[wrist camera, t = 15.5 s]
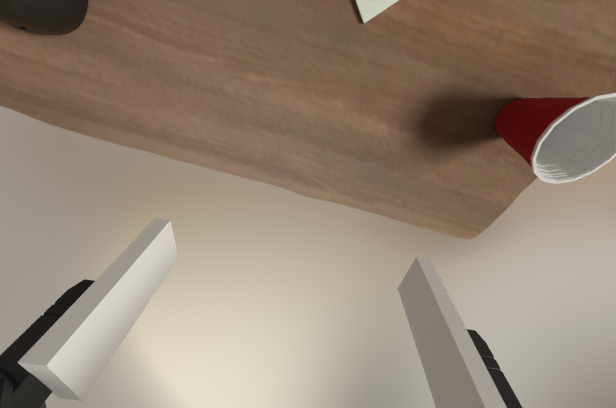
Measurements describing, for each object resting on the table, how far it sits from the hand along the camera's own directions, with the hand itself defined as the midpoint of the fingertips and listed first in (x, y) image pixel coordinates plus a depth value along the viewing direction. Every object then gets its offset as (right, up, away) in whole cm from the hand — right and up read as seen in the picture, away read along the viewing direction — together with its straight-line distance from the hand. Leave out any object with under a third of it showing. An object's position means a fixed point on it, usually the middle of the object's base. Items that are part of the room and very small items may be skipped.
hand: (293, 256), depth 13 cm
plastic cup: (+34, +17, +24) cm, 45 cm away
